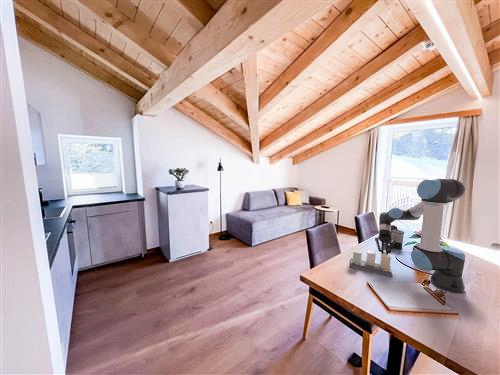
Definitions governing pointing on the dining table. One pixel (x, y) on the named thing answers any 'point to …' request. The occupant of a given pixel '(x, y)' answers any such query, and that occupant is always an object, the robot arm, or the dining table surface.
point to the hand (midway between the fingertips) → (384, 261)
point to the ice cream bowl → (393, 227)
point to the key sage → (357, 257)
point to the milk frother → (396, 239)
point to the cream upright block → (370, 258)
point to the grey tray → (371, 268)
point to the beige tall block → (385, 262)
